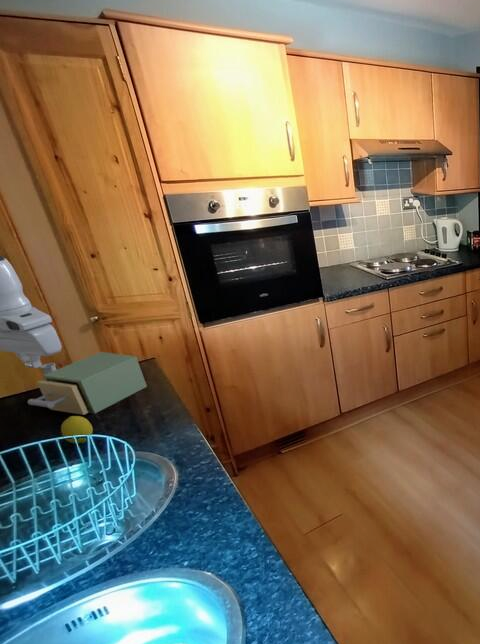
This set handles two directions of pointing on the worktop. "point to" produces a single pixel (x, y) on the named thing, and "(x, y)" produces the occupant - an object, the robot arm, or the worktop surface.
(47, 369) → the flask
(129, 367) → the cabinet
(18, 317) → the robot arm
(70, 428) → the lemon
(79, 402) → the drawer
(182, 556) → the worktop surface
